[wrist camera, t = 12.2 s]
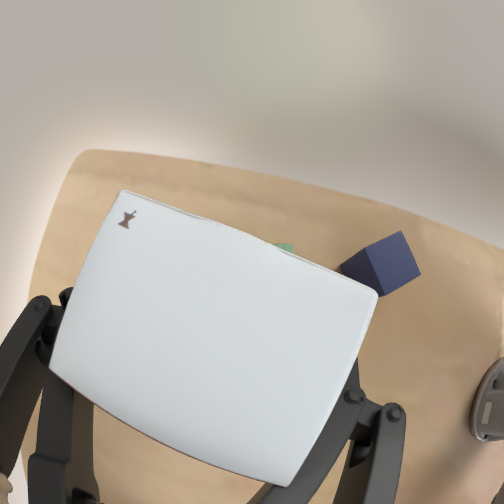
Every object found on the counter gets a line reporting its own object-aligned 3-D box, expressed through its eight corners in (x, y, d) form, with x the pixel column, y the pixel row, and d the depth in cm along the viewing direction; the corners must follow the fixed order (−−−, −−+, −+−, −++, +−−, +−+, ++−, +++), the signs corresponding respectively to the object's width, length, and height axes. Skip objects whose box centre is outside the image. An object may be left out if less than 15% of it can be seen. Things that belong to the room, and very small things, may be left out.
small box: (162, 345, 19) (41, 367, 6) (197, 266, 20) (119, 180, 7) (266, 390, 18) (290, 493, 5) (300, 309, 19) (385, 285, 7)
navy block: (371, 250, 33) (401, 230, 25) (387, 285, 32) (421, 274, 24) (339, 265, 33) (364, 247, 25) (355, 302, 31) (385, 295, 24)
